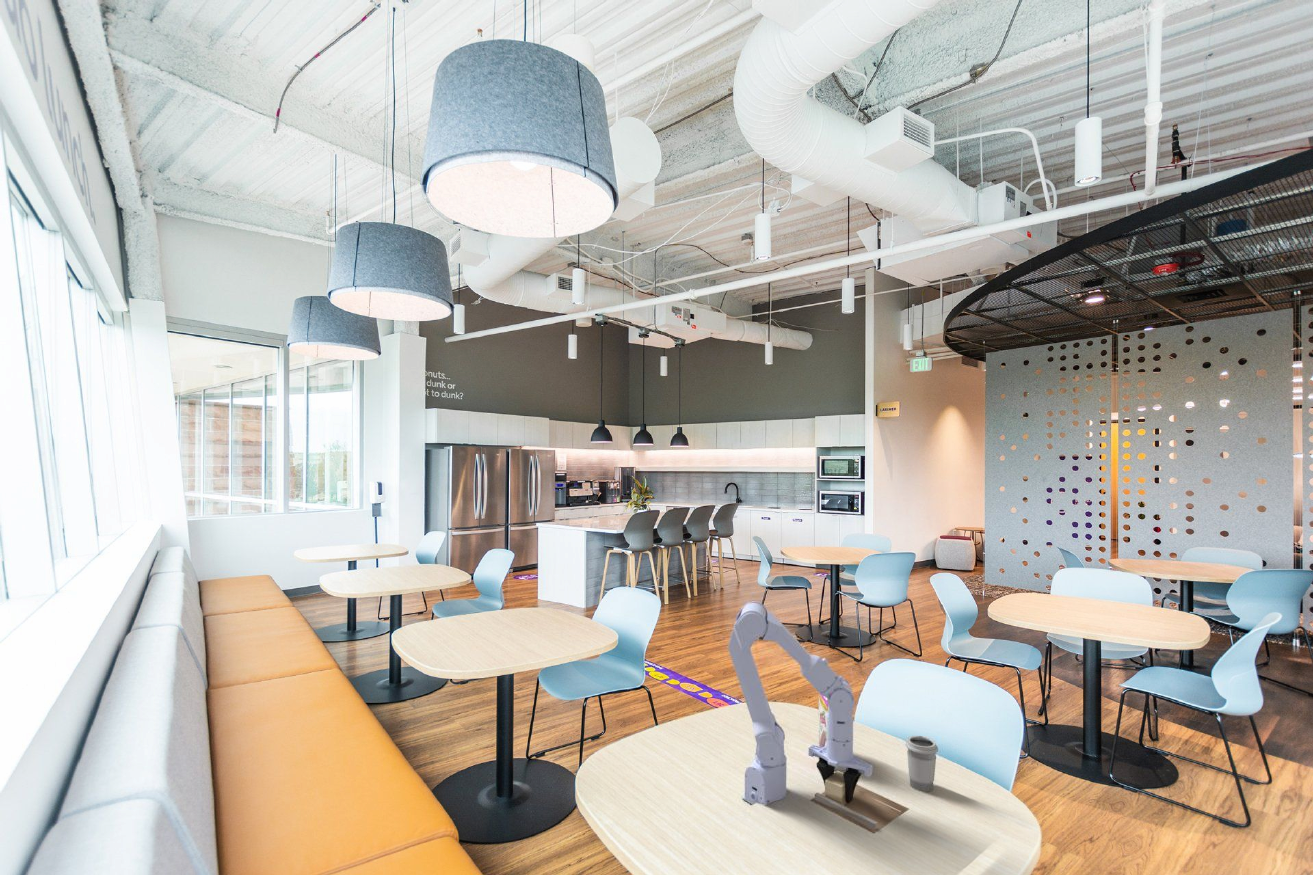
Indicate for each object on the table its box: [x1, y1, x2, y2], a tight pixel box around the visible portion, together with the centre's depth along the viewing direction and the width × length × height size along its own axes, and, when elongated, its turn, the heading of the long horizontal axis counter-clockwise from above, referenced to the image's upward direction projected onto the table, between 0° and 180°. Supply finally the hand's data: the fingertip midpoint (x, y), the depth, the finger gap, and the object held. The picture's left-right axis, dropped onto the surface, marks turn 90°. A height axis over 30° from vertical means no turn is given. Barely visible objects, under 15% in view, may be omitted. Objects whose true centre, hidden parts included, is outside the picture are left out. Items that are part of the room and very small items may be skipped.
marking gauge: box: [824, 770, 854, 806], centre depth 150 cm, size 10×4×4 cm, turn 139°
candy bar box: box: [818, 692, 848, 771], centre depth 167 cm, size 11×5×16 cm, turn 179°
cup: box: [905, 735, 939, 793], centre depth 154 cm, size 7×7×12 cm
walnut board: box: [809, 783, 910, 834], centre depth 146 cm, size 14×16×3 cm
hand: (839, 796), depth 148 cm, fingers closed on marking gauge, 4 cm apart
